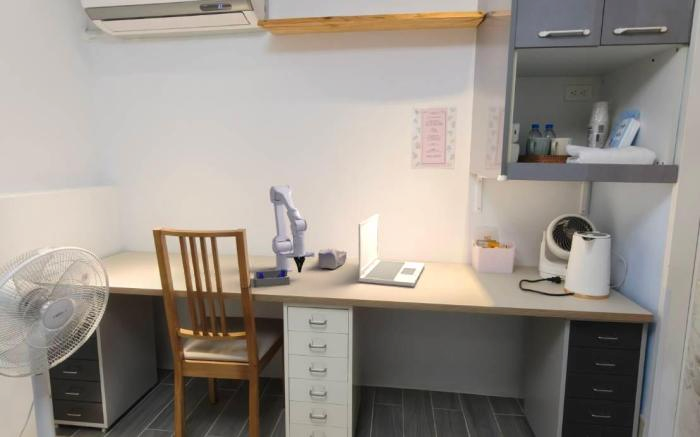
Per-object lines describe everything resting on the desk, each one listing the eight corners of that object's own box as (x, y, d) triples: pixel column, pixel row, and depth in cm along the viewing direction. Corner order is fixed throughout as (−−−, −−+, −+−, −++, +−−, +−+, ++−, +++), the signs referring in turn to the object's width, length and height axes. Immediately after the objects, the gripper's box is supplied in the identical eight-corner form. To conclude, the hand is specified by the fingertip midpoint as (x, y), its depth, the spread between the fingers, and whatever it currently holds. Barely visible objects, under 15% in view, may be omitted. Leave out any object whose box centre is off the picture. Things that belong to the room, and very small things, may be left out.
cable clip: (283, 280, 192) (283, 268, 191) (285, 283, 188) (285, 270, 187) (258, 283, 188) (258, 270, 187) (259, 285, 184) (259, 273, 183)
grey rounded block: (315, 249, 208) (325, 242, 227) (316, 270, 209) (325, 261, 228) (340, 250, 205) (347, 243, 224) (340, 271, 206) (347, 262, 226)
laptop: (414, 288, 179) (415, 226, 175) (358, 283, 188) (357, 223, 183) (424, 268, 212) (425, 215, 208) (376, 264, 220) (376, 213, 216)
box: (254, 278, 195) (253, 271, 194) (287, 275, 198) (287, 269, 198) (254, 287, 181) (253, 279, 181) (289, 284, 185) (289, 277, 184)
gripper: (284, 247, 185) (285, 275, 187) (315, 245, 188) (315, 273, 190) (283, 243, 192) (283, 271, 194) (313, 242, 195) (313, 269, 197)
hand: (299, 271), depth 193 cm, fingers closed
